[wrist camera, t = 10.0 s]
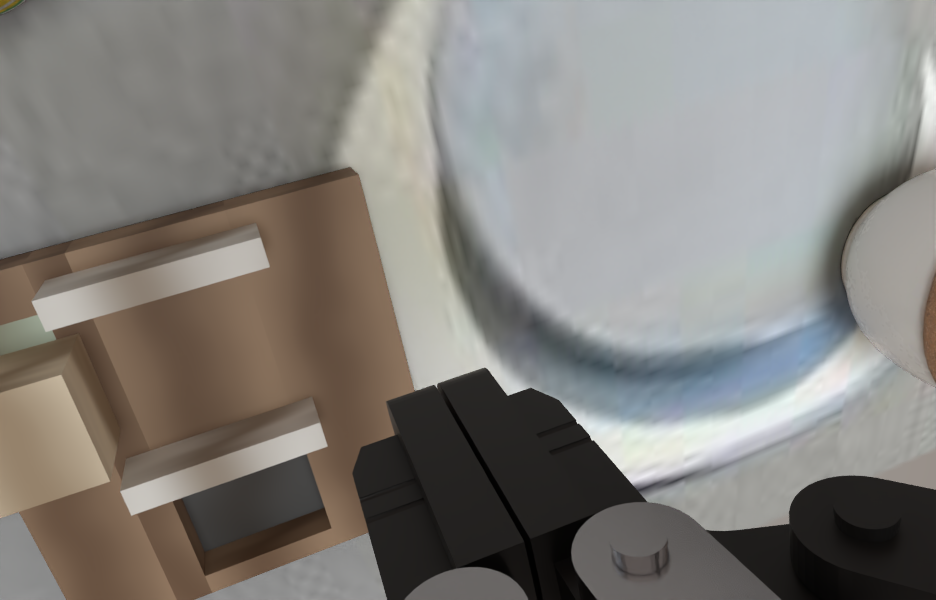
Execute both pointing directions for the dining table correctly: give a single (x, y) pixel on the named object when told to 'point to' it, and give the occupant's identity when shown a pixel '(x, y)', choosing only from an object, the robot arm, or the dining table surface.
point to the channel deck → (217, 385)
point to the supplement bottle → (9, 5)
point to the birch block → (52, 425)
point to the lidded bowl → (897, 275)
